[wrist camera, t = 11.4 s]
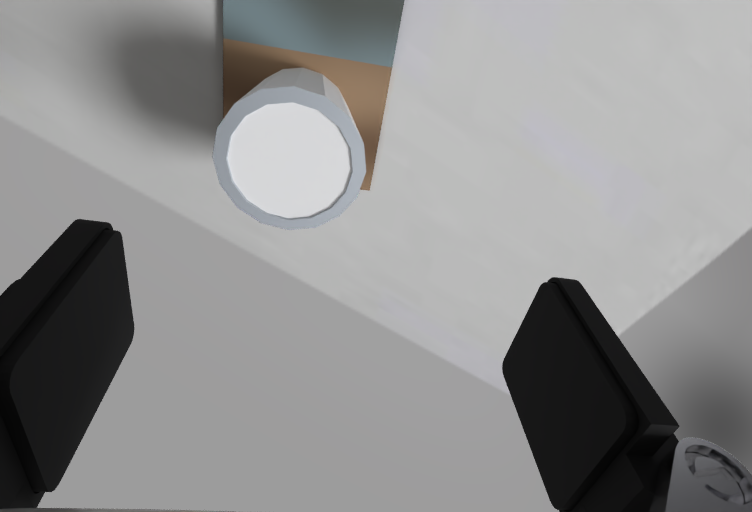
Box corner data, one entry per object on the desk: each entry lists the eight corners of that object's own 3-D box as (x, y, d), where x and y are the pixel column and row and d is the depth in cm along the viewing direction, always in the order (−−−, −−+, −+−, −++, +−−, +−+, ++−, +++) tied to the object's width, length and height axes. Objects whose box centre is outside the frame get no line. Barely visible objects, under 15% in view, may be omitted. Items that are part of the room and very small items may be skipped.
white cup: (366, 63, 25) (376, 97, 19) (353, 179, 29) (358, 236, 23) (237, 46, 24) (206, 76, 18) (240, 168, 28) (215, 225, 22)
